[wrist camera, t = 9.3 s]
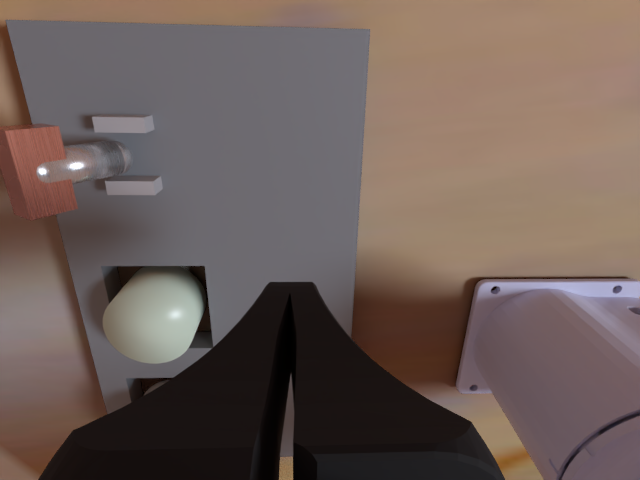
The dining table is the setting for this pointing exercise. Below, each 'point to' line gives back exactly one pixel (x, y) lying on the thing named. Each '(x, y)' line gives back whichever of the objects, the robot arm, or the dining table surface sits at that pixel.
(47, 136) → the toggle lever
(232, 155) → the panel
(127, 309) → the sage button
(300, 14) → the dining table surface
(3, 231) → the dining table surface
